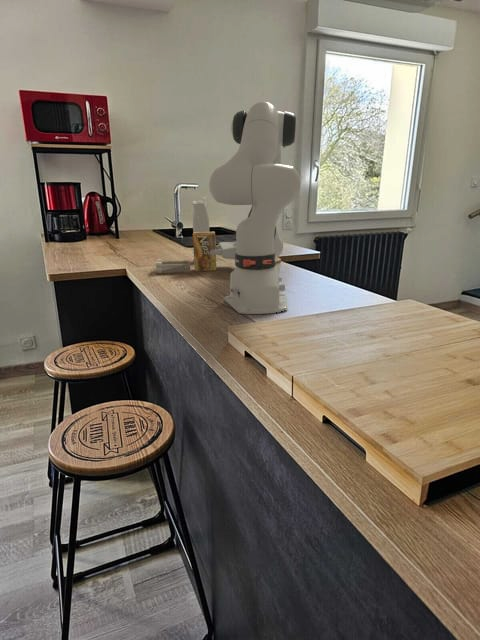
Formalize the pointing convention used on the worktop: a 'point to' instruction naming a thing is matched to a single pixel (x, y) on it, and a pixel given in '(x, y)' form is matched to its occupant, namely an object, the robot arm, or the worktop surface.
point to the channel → (172, 267)
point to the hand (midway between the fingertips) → (209, 250)
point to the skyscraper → (200, 217)
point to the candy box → (204, 251)
